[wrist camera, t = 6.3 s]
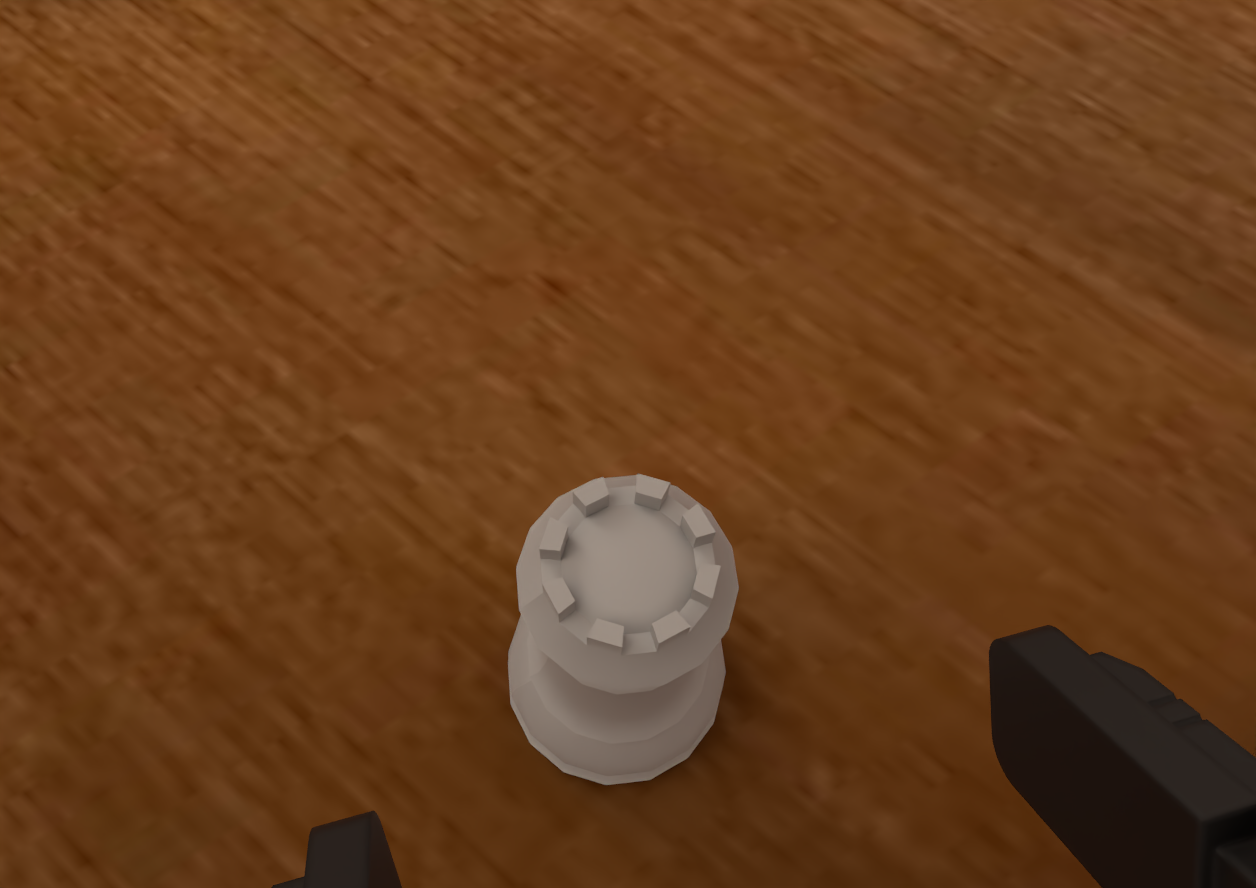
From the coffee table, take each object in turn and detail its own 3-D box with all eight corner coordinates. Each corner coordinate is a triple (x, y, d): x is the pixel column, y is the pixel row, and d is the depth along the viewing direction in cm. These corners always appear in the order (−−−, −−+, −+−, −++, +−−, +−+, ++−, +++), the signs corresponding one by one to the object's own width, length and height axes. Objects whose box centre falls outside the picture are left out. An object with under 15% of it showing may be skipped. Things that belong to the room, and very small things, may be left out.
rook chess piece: (541, 818, 20) (516, 768, 13) (485, 607, 22) (434, 457, 14) (751, 747, 21) (840, 663, 13) (681, 550, 22) (726, 379, 15)
